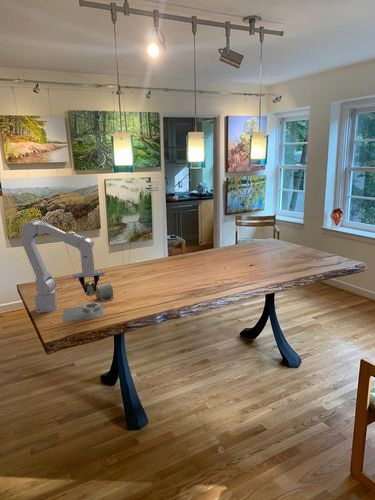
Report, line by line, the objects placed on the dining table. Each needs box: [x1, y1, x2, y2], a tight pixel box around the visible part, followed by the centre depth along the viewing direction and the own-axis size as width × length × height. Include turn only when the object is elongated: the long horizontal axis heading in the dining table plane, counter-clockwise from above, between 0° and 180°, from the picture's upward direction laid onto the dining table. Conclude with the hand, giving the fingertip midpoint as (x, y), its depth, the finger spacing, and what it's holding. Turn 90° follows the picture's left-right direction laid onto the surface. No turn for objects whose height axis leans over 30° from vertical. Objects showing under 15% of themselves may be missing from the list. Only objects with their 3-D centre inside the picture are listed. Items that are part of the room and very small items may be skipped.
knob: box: [85, 281, 95, 297], centre depth 180 cm, size 5×4×6 cm
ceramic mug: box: [94, 282, 114, 302], centre depth 195 cm, size 11×8×8 cm
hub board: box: [62, 302, 104, 323], centre depth 178 cm, size 18×16×2 cm
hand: (90, 291), depth 181 cm, fingers closed on knob, 4 cm apart
